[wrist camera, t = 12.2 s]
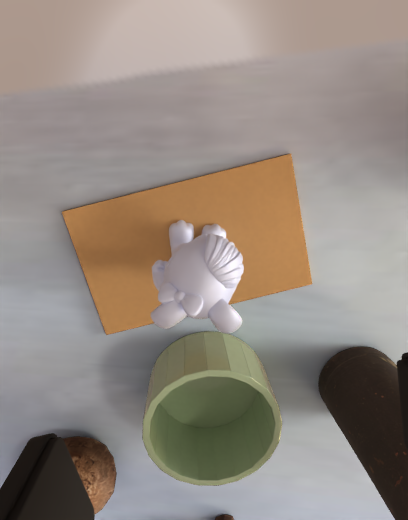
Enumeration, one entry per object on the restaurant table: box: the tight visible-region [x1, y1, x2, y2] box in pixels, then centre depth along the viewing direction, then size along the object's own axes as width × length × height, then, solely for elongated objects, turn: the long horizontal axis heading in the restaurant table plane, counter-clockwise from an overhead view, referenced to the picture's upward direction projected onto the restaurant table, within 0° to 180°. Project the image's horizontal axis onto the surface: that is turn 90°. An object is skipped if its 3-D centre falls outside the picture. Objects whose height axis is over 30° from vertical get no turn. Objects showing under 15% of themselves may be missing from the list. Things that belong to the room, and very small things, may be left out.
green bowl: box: [142, 331, 282, 486], centre depth 31 cm, size 12×12×6 cm
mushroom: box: [62, 436, 117, 515], centre depth 34 cm, size 8×8×6 cm
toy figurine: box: [151, 220, 244, 334], centre depth 24 cm, size 7×6×12 cm
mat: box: [62, 154, 312, 335], centre depth 30 cm, size 20×12×1 cm, turn 104°
